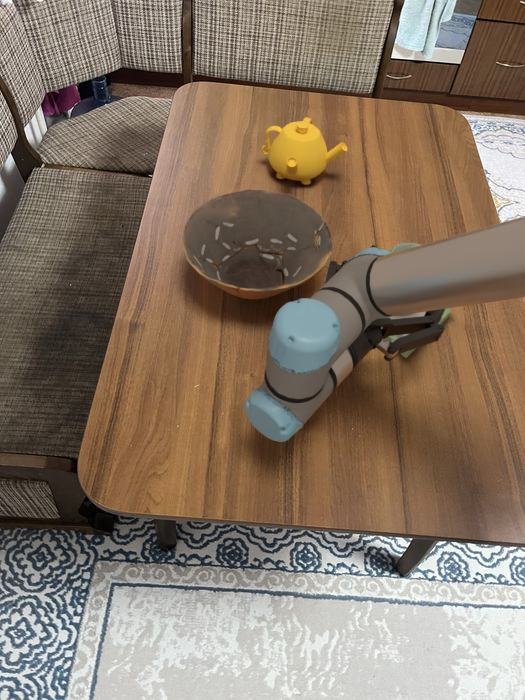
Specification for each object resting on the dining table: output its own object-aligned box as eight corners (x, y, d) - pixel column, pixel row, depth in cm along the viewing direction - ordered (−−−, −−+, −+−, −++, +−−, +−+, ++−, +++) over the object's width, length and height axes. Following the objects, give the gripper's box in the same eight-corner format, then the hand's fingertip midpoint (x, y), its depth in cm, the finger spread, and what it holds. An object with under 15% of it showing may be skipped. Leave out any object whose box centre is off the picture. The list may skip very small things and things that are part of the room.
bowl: (307, 227, 106) (315, 185, 98) (337, 323, 91) (348, 283, 83) (180, 234, 102) (176, 191, 94) (189, 335, 88) (187, 294, 80)
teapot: (285, 200, 110) (292, 152, 101) (253, 163, 117) (256, 115, 108) (342, 182, 115) (352, 135, 106) (308, 148, 122) (315, 101, 113)
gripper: (262, 321, 82) (340, 252, 92) (401, 417, 73) (469, 328, 84) (266, 288, 76) (349, 218, 86) (417, 388, 67) (489, 296, 78)
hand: (408, 272), depth 85 cm, fingers open, 13 cm apart
